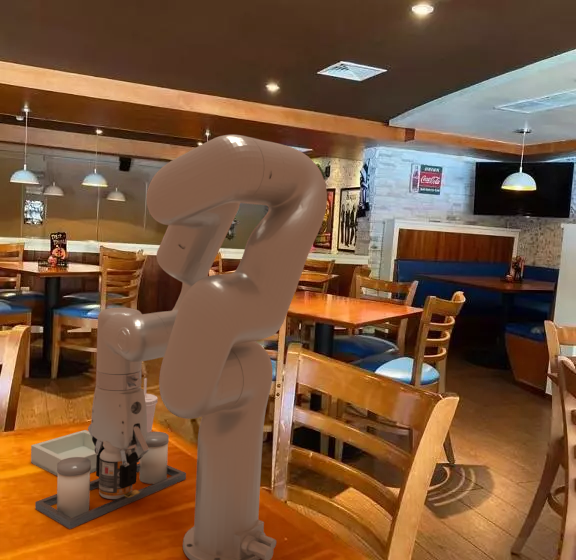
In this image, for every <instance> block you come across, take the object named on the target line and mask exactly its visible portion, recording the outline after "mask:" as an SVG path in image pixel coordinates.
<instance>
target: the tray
mask: <svg viewBox="0 0 576 560" xmlns="http://www.w3.org/2000/svg"><path fill="white" fill-rule="evenodd" d="M30 447H31V448H30V450H31V452H30V454H31V455H30V463H31V464H32V465H34V466H37V467H38V468H40V469H42V470H44V471H46V472H48V473H50V474H52V475H54V476H56V477H58V472H57V463H58V462H59V461H61V460H63V459H66V458H71V457H83V458H87V459H89V460H90V461H91V469H90V474H92V473H94V472H95V473H96V458H97V455H98V454H96V453H95V451H94V449H95V445H94V443H93V441H92V437H91V435H90V433H89V431H88V429H84V430H81V431H76V432H73V433H69V434H66V435H62V436H59V437H55V438H52V439H49V440H46V441H42V442H39V443H38V442H37V443H35V444H31V445H30Z"/></svg>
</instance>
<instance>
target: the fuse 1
mask: <svg viewBox="0 0 576 560" xmlns="http://www.w3.org/2000/svg"><path fill="white" fill-rule="evenodd" d="M90 469H91V461H90V460H89V459H87V458H83V457H71V458H66V459H63V460H61V461H59V462H58V463H57V472H58V476H57V480H56V481H57V482H56V483H57V486H56V487H57V488H56V492H57V493H56V494H57V503H56V510H58V511H60V512H62V513H63V514H65V515H67V516H69V517H70V518H73V517H75V516H78V515H80V514H83V513H85V512H87V511H90V491H91V490H90V481H91V473H90Z"/></svg>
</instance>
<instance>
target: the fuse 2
mask: <svg viewBox="0 0 576 560" xmlns="http://www.w3.org/2000/svg"><path fill="white" fill-rule="evenodd" d="M169 438H170V437H169V433H166V432H164V431H162V432H161V431H151V432H147V440H146V443H147V445H148V448H149V451H148V452H147V453H146V454H144V455H143V457H142V458H141V459H140V461H139V463H140V471H139V474H138V475H139V476H138V477H139V481H140V482H142V483H143V484H144V483H145V484H148V485H149V484H150V485H152V484H155V483H157V482H159V481H162V480H164V479H167V478H168V477H167V476H168V474H167V465H168V453H169V451H168V447H169V446H168V445H169Z"/></svg>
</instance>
